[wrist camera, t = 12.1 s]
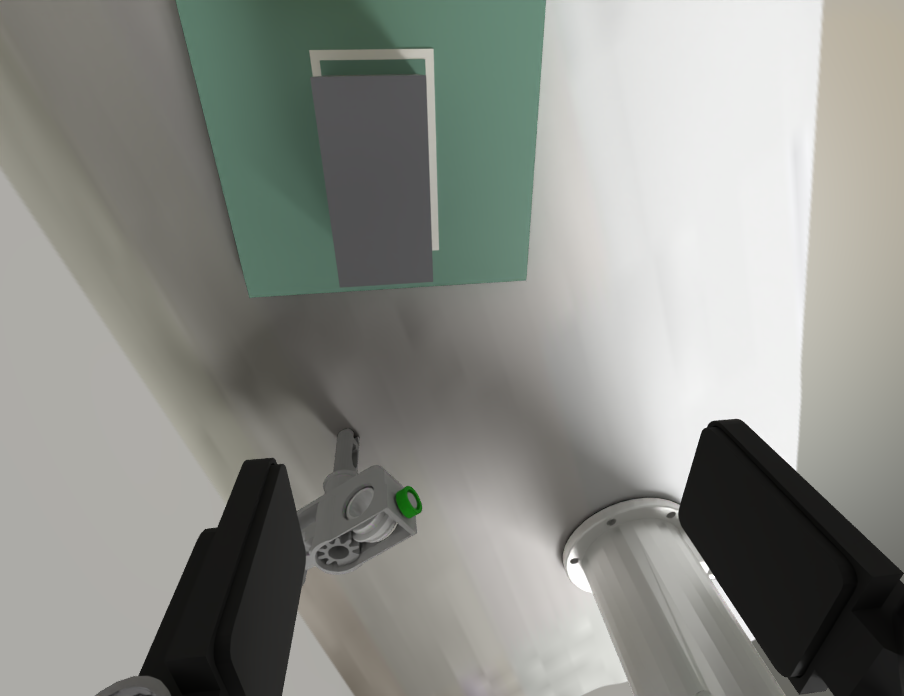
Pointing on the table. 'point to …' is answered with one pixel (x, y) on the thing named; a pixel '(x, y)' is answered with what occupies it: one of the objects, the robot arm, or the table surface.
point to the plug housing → (376, 176)
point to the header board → (370, 53)
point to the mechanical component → (355, 513)
